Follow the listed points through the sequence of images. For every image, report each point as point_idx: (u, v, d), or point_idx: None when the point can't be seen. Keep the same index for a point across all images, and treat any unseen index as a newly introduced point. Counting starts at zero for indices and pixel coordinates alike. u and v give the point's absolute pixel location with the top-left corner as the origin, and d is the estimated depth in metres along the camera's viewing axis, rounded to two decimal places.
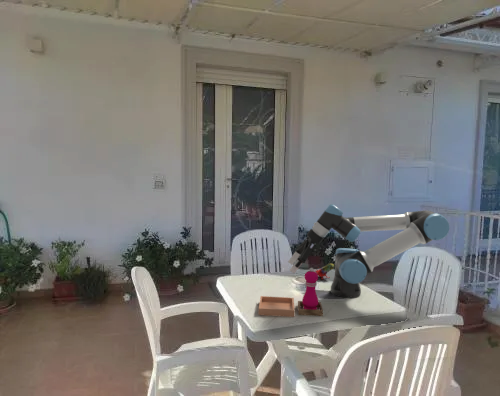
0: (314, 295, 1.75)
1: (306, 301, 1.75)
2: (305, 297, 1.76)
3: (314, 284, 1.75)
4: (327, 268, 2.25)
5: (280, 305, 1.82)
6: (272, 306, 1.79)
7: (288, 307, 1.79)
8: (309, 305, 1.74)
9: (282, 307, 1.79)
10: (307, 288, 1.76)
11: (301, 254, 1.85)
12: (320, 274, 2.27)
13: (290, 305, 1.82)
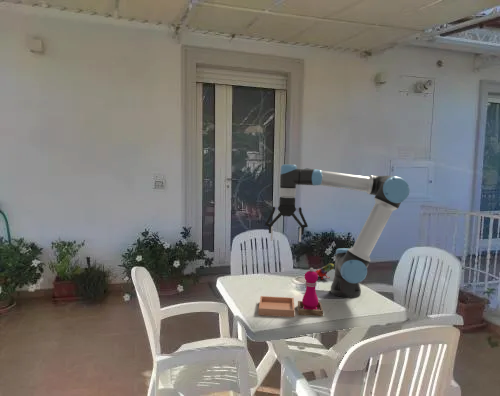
0: (314, 295, 1.75)
1: (306, 301, 1.75)
2: (305, 297, 1.76)
3: (314, 284, 1.75)
4: (327, 268, 2.25)
5: (280, 305, 1.82)
6: (272, 306, 1.79)
7: (288, 307, 1.79)
8: (309, 305, 1.74)
9: (282, 307, 1.79)
10: (307, 288, 1.76)
11: (298, 222, 1.87)
12: (320, 274, 2.27)
13: (290, 305, 1.82)
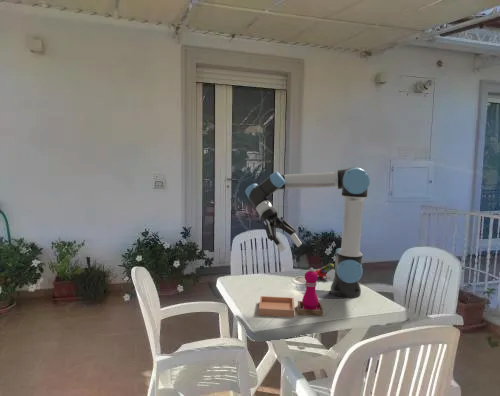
0: (314, 295, 1.75)
1: (306, 301, 1.75)
2: (305, 297, 1.76)
3: (314, 284, 1.75)
4: (327, 268, 2.25)
5: (280, 305, 1.82)
6: (272, 306, 1.79)
7: (288, 307, 1.79)
8: (309, 305, 1.74)
9: (282, 307, 1.79)
10: (307, 288, 1.76)
11: (289, 228, 1.89)
12: (320, 274, 2.27)
13: (290, 305, 1.82)
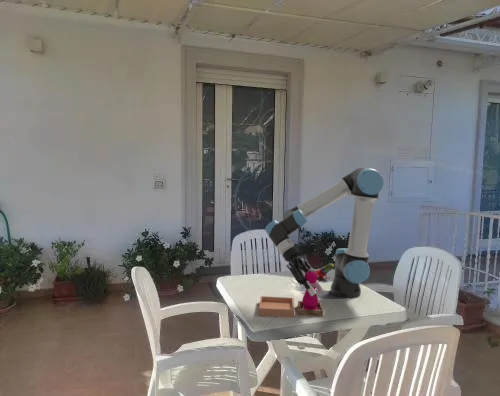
0: (314, 295, 1.75)
1: (306, 301, 1.75)
2: (305, 297, 1.76)
3: (314, 284, 1.75)
4: (327, 268, 2.25)
5: (280, 305, 1.82)
6: (272, 306, 1.79)
7: (288, 307, 1.79)
8: (309, 305, 1.74)
9: (282, 307, 1.79)
10: None
11: None
12: (320, 274, 2.27)
13: (290, 305, 1.82)
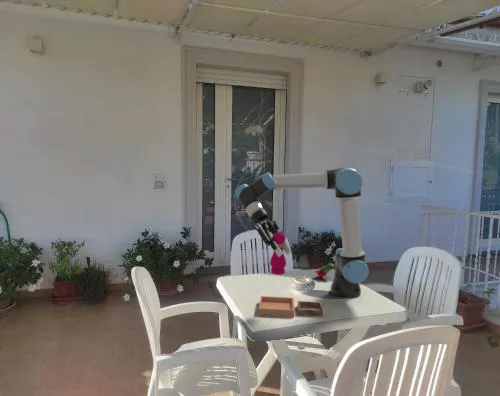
0: (281, 256, 1.75)
1: (273, 262, 1.75)
2: (273, 258, 1.75)
3: (281, 245, 1.74)
4: (327, 268, 2.25)
5: (280, 305, 1.82)
6: (272, 306, 1.79)
7: (288, 307, 1.79)
8: (276, 266, 1.74)
9: (282, 307, 1.79)
10: None
11: None
12: (320, 274, 2.27)
13: (290, 305, 1.82)
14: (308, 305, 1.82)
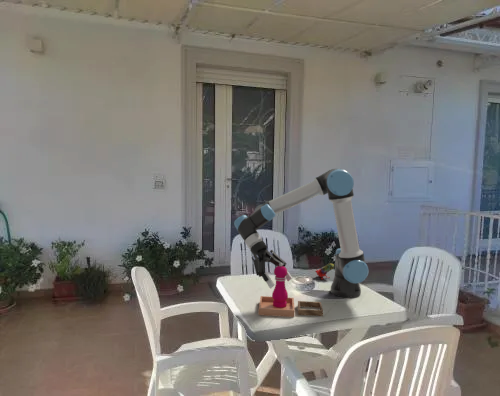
0: (283, 289, 1.79)
1: (275, 295, 1.78)
2: (274, 291, 1.79)
3: (283, 279, 1.78)
4: (327, 268, 2.25)
5: None
6: (272, 306, 1.79)
7: (288, 307, 1.79)
8: (278, 299, 1.78)
9: None
10: (276, 283, 1.79)
11: (279, 262, 1.84)
12: (320, 274, 2.27)
13: (290, 305, 1.82)
14: (308, 305, 1.82)
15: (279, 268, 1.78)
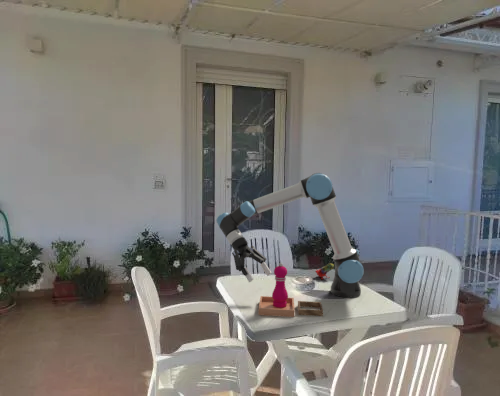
0: (283, 289, 1.79)
1: (275, 295, 1.78)
2: (274, 291, 1.79)
3: (283, 279, 1.78)
4: (327, 268, 2.25)
5: None
6: (272, 306, 1.79)
7: (288, 307, 1.79)
8: (278, 299, 1.78)
9: None
10: (276, 283, 1.79)
11: (259, 257, 1.91)
12: (320, 274, 2.27)
13: (290, 305, 1.82)
14: (308, 305, 1.82)
15: (279, 268, 1.78)
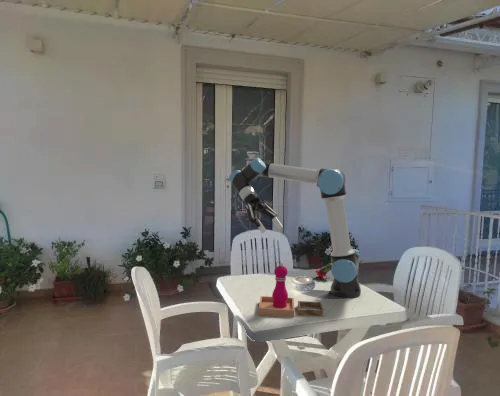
0: (283, 289, 1.79)
1: (275, 295, 1.78)
2: (275, 291, 1.79)
3: (283, 279, 1.78)
4: (327, 268, 2.25)
5: None
6: (272, 306, 1.79)
7: (288, 307, 1.79)
8: (278, 299, 1.78)
9: None
10: (277, 283, 1.79)
11: (271, 212, 1.98)
12: (320, 274, 2.27)
13: (290, 305, 1.82)
14: (308, 305, 1.82)
15: (279, 268, 1.78)
